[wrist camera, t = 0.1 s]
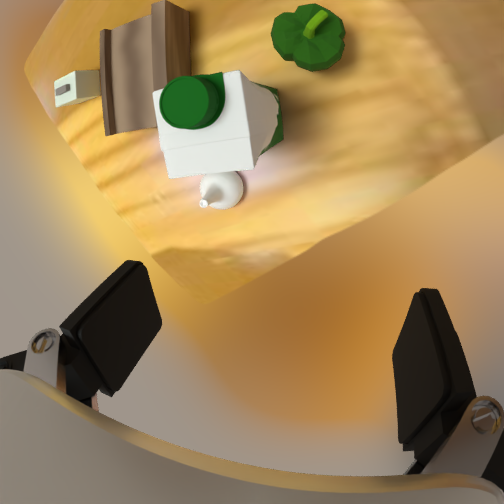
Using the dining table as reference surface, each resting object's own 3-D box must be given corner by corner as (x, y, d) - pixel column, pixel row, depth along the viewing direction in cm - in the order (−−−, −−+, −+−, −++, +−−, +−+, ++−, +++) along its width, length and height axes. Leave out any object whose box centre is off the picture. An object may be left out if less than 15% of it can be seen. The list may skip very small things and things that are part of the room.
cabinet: (77, 79, 37) (50, 82, 31) (99, 70, 35) (70, 70, 29) (79, 103, 39) (51, 108, 33) (100, 95, 38) (72, 99, 32)
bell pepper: (299, 85, 31) (290, 77, 23) (269, 36, 29) (250, 14, 20) (356, 62, 28) (366, 47, 19) (325, 12, 25) (324, -16, 17)
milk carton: (282, 82, 32) (238, 56, 15) (291, 146, 36) (257, 186, 19) (219, 91, 34) (129, 88, 17) (229, 152, 38) (151, 196, 21)
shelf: (189, 12, 28) (164, -1, 22) (194, 121, 37) (170, 125, 31) (119, 34, 31) (91, 30, 25) (125, 131, 40) (96, 138, 34)
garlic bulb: (229, 157, 39) (204, 164, 32) (254, 191, 40) (234, 206, 33) (199, 181, 42) (171, 193, 35) (222, 213, 43) (199, 231, 36)
